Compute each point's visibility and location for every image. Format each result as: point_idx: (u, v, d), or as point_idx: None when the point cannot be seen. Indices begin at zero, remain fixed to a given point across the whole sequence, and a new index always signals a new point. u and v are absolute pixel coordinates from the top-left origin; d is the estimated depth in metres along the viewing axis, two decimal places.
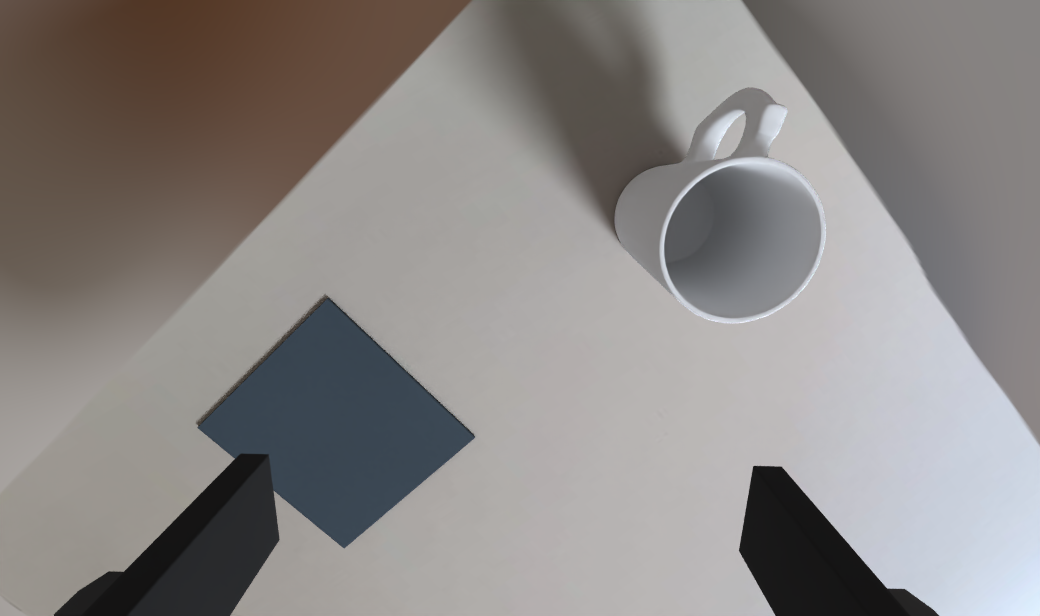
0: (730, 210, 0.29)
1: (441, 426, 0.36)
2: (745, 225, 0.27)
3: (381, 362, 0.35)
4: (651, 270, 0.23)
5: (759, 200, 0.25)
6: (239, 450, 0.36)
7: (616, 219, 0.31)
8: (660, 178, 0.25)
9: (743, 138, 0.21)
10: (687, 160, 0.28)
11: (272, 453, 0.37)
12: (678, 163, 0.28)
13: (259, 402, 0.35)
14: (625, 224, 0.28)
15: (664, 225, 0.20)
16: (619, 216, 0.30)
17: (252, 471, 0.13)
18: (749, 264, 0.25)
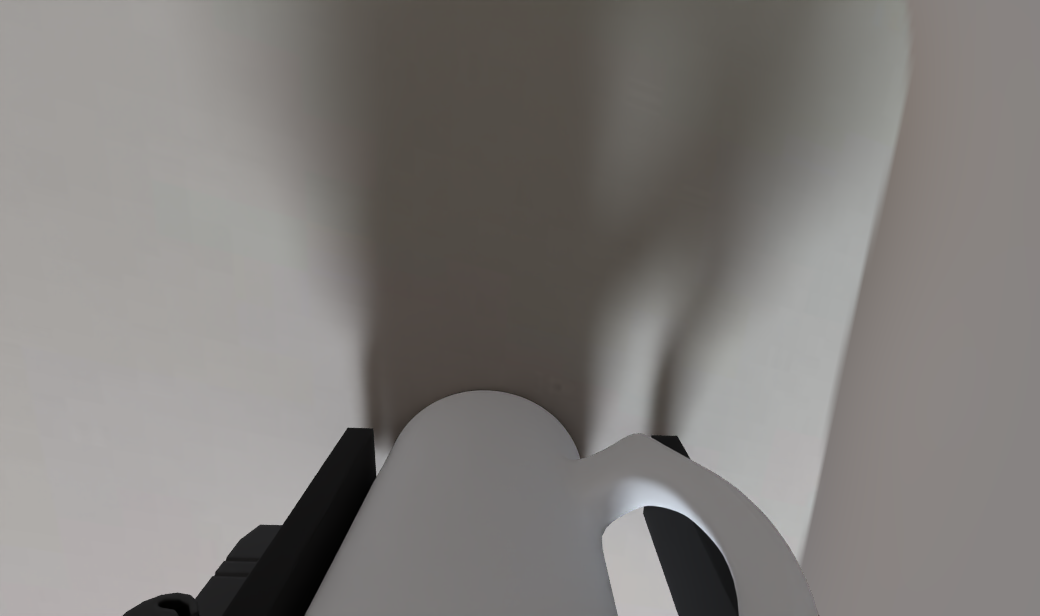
0: None
1: None
2: None
3: None
4: None
5: None
6: None
7: (401, 435, 0.15)
8: (457, 550, 0.09)
9: None
10: (570, 482, 0.12)
11: None
12: (555, 465, 0.13)
13: None
14: (367, 503, 0.12)
15: None
16: (396, 449, 0.14)
17: (364, 442, 0.14)
18: None
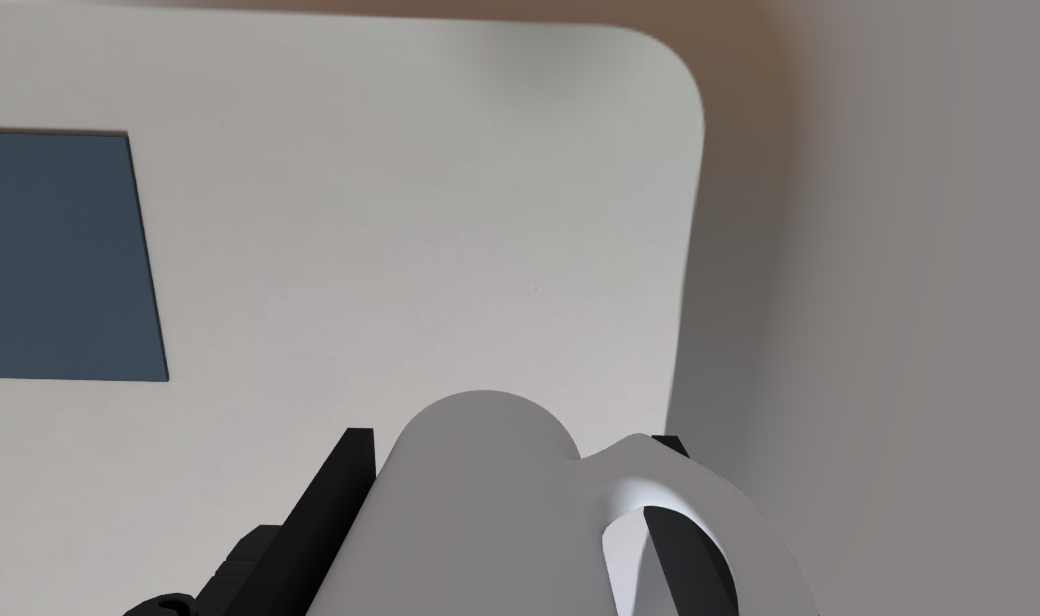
0: None
1: (140, 346, 0.30)
2: None
3: (130, 240, 0.28)
4: None
5: None
6: None
7: (402, 435, 0.15)
8: (458, 549, 0.09)
9: None
10: (571, 481, 0.12)
11: None
12: (556, 464, 0.13)
13: None
14: (368, 503, 0.12)
15: None
16: (397, 449, 0.14)
17: (364, 442, 0.14)
18: None
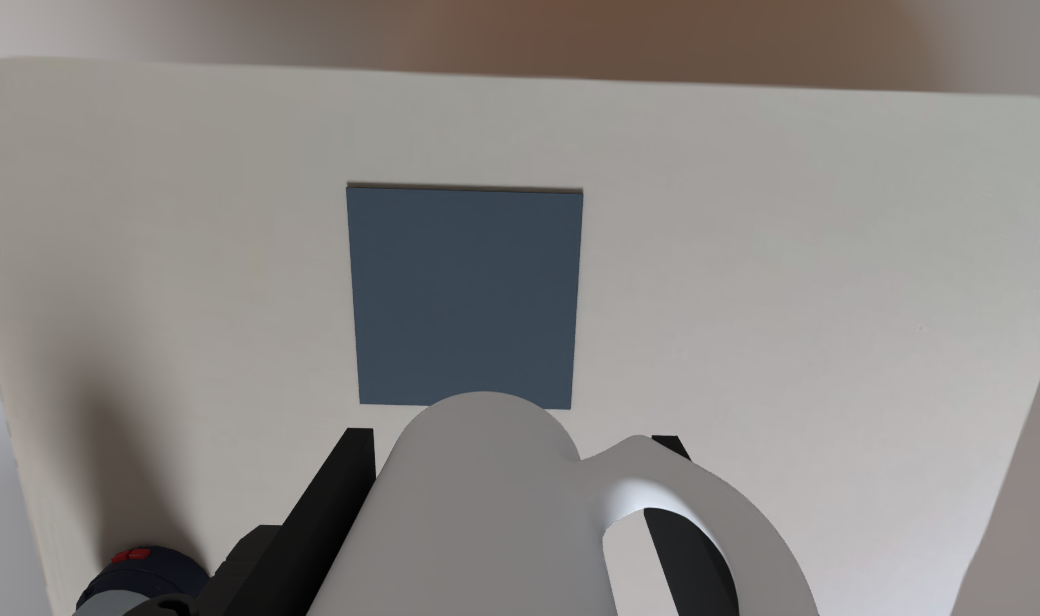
0: None
1: (554, 377, 0.33)
2: None
3: (566, 285, 0.31)
4: None
5: None
6: (362, 241, 0.31)
7: (401, 436, 0.15)
8: (458, 552, 0.09)
9: None
10: (571, 483, 0.12)
11: (389, 271, 0.31)
12: (556, 466, 0.13)
13: (428, 219, 0.30)
14: (367, 505, 0.12)
15: None
16: (397, 451, 0.14)
17: (364, 442, 0.14)
18: None
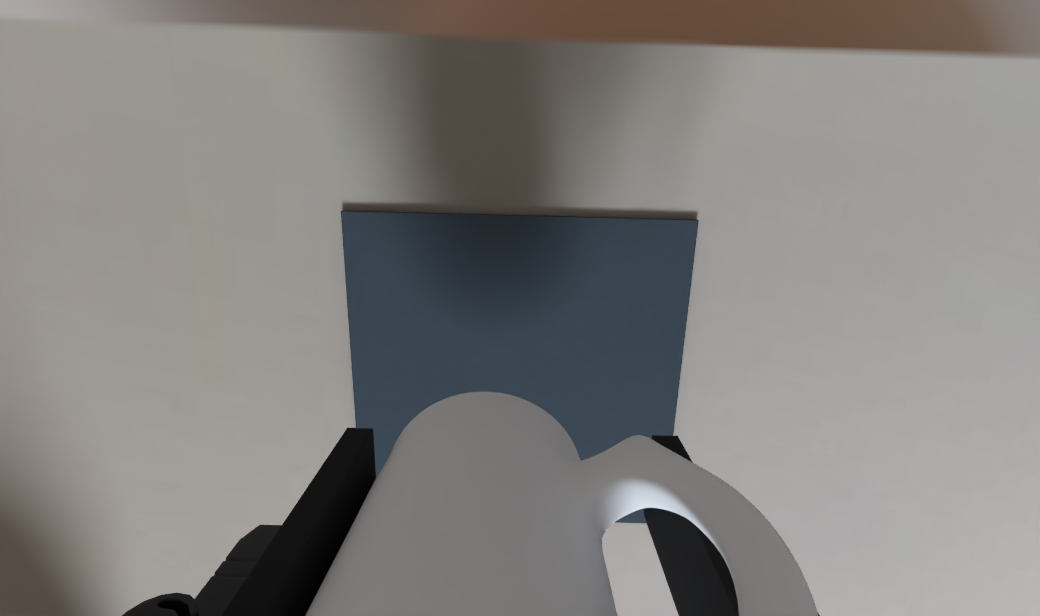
0: None
1: None
2: None
3: (666, 352, 0.21)
4: None
5: None
6: (365, 291, 0.21)
7: (401, 437, 0.15)
8: (457, 552, 0.09)
9: None
10: (570, 483, 0.12)
11: (405, 333, 0.21)
12: (555, 466, 0.13)
13: (464, 258, 0.20)
14: (367, 505, 0.12)
15: None
16: (396, 451, 0.14)
17: (364, 442, 0.14)
18: None
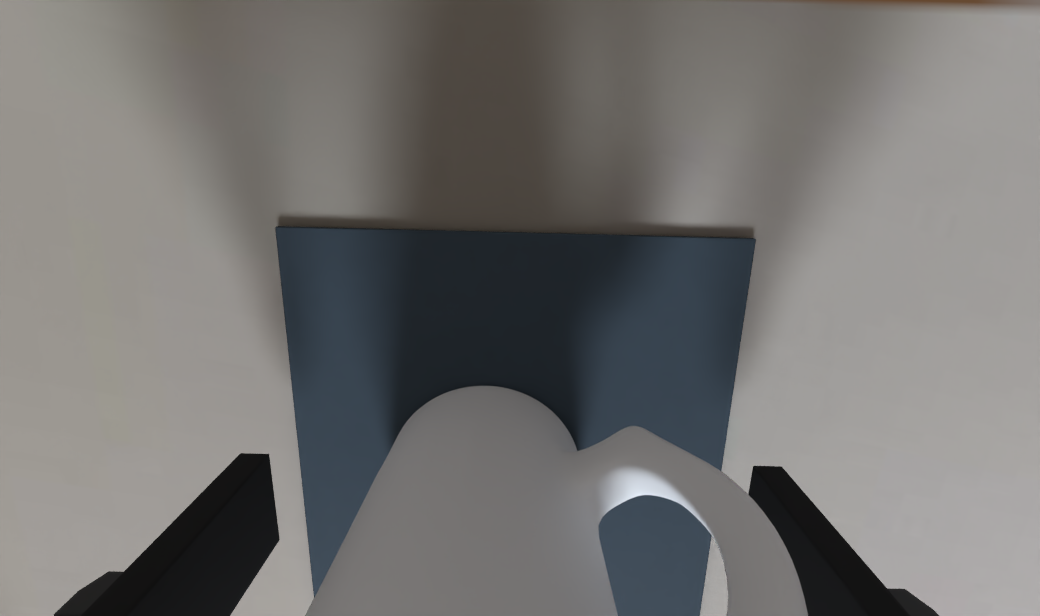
0: None
1: (673, 570, 0.18)
2: None
3: (709, 410, 0.16)
4: None
5: None
6: (311, 332, 0.16)
7: (403, 429, 0.15)
8: (460, 534, 0.09)
9: None
10: (568, 472, 0.13)
11: (365, 386, 0.16)
12: (553, 456, 0.13)
13: (442, 289, 0.15)
14: (371, 494, 0.12)
15: None
16: (399, 443, 0.14)
17: (252, 471, 0.13)
18: None
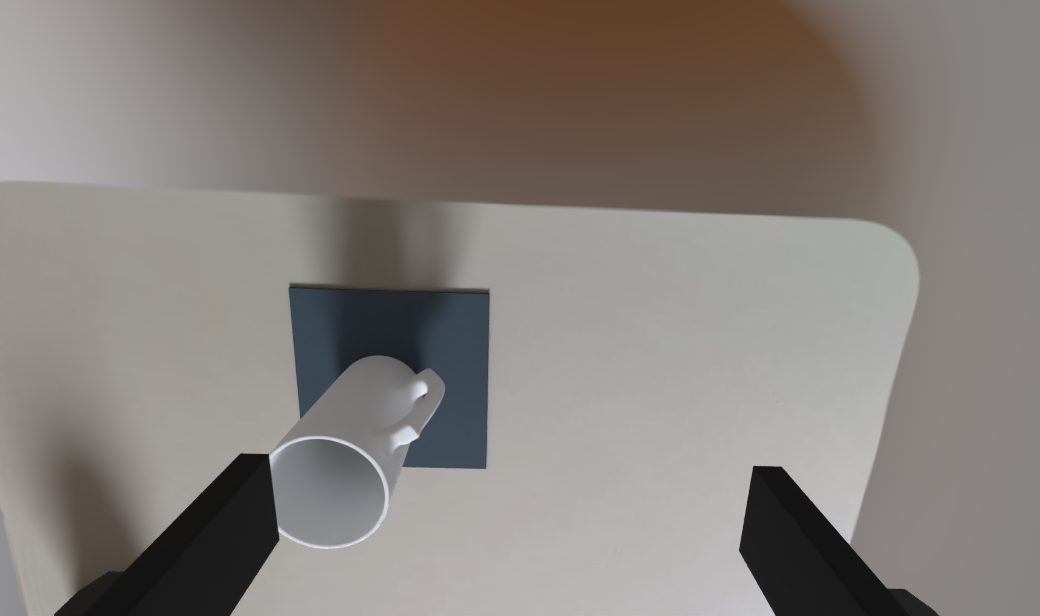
0: None
1: (471, 442, 0.39)
2: None
3: (478, 367, 0.37)
4: None
5: None
6: (303, 331, 0.36)
7: None
8: (349, 393, 0.30)
9: (391, 426, 0.27)
10: (400, 385, 0.33)
11: (327, 355, 0.37)
12: (397, 380, 0.34)
13: (359, 314, 0.36)
14: None
15: (280, 446, 0.25)
16: (339, 376, 0.35)
17: (252, 471, 0.13)
18: (365, 489, 0.31)
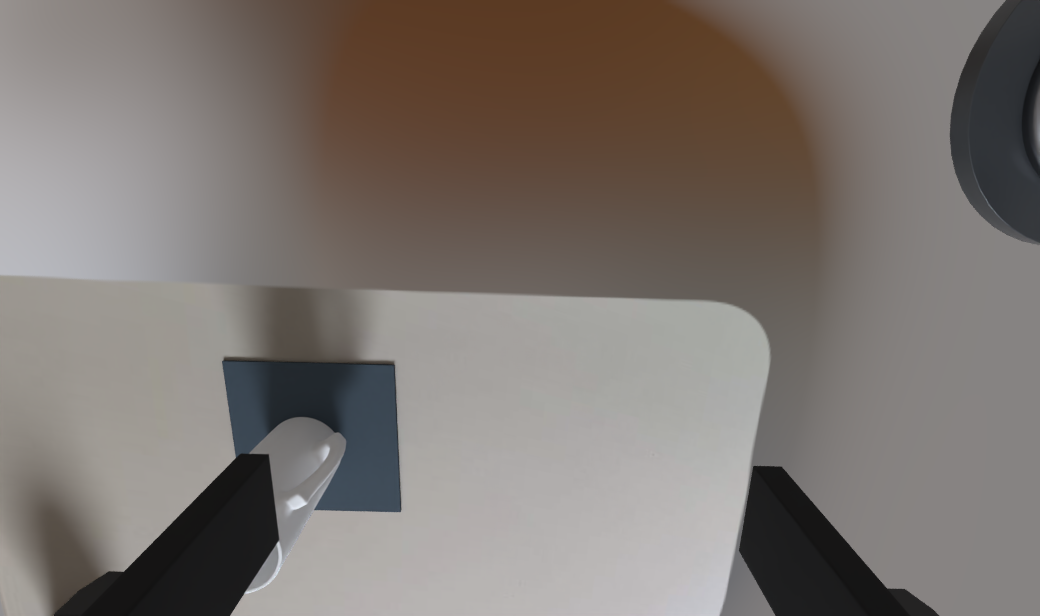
0: None
1: (386, 490, 0.44)
2: None
3: (388, 426, 0.43)
4: None
5: None
6: (236, 397, 0.42)
7: None
8: None
9: (287, 493, 0.33)
10: (313, 447, 0.39)
11: (257, 417, 0.43)
12: (311, 442, 0.40)
13: (283, 382, 0.42)
14: None
15: None
16: None
17: (252, 471, 0.13)
18: None
